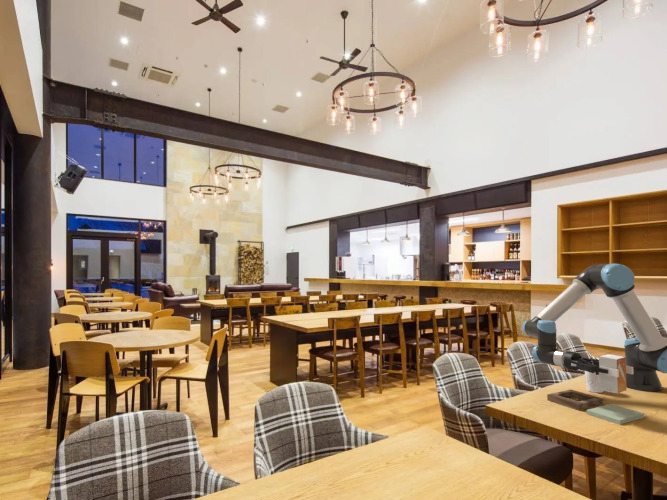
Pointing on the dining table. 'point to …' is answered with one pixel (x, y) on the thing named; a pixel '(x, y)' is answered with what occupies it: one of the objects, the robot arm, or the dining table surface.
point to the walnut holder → (563, 396)
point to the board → (615, 413)
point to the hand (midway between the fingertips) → (625, 372)
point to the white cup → (593, 382)
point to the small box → (613, 382)
